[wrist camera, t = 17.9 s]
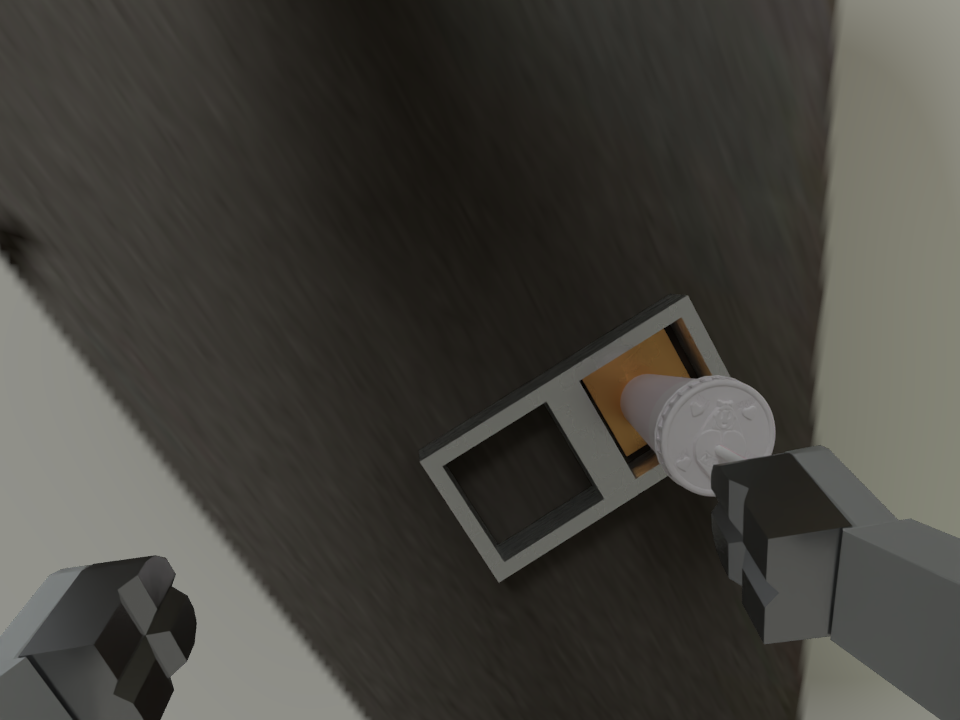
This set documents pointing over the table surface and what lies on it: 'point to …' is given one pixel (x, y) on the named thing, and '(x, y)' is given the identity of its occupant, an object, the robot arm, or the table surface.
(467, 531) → the cup holder
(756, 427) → the smoothie
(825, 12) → the table surface
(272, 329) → the table surface
